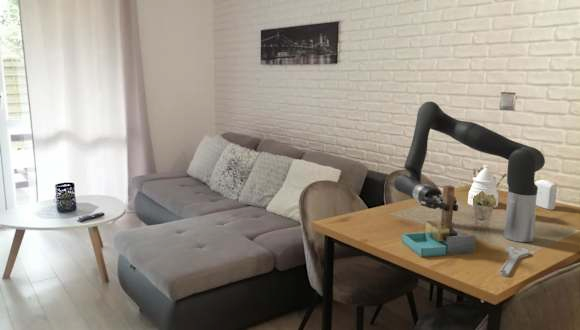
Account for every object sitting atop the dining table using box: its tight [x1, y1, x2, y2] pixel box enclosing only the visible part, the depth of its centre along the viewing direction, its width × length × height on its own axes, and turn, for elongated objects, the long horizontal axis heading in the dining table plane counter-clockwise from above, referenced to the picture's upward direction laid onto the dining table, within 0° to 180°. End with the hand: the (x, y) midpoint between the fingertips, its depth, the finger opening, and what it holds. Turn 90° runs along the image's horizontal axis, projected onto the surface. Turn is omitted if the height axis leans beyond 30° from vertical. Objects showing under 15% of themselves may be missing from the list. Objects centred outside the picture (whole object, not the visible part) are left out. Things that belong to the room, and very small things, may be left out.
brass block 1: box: [424, 220, 442, 236], centre depth 154 cm, size 4×4×4 cm
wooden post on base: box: [440, 184, 457, 237], centre depth 151 cm, size 3×9×17 cm, turn 12°
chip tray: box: [401, 231, 447, 258], centre depth 152 cm, size 9×14×3 cm, turn 12°
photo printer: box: [534, 179, 558, 211], centre depth 201 cm, size 10×4×12 cm, turn 13°
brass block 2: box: [432, 225, 449, 241], centre depth 150 cm, size 4×4×4 cm
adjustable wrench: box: [498, 246, 529, 278], centre depth 141 cm, size 25×6×2 cm, turn 139°
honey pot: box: [467, 164, 499, 208], centre depth 205 cm, size 13×13×18 cm
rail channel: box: [439, 222, 476, 256], centre depth 153 cm, size 10×14×6 cm
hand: (452, 208), depth 148 cm, fingers closed on wooden post on base, 2 cm apart
